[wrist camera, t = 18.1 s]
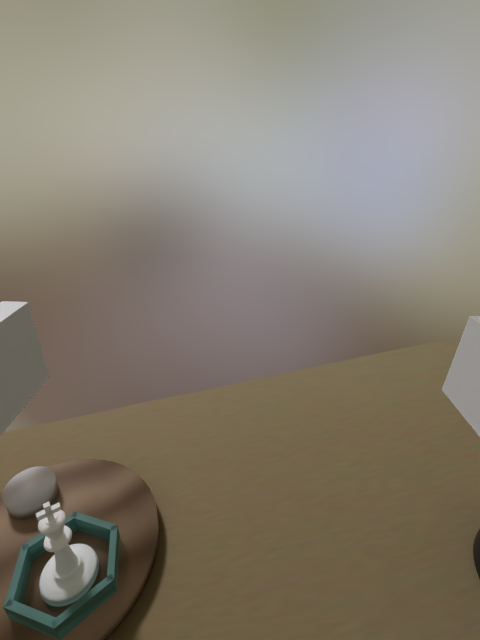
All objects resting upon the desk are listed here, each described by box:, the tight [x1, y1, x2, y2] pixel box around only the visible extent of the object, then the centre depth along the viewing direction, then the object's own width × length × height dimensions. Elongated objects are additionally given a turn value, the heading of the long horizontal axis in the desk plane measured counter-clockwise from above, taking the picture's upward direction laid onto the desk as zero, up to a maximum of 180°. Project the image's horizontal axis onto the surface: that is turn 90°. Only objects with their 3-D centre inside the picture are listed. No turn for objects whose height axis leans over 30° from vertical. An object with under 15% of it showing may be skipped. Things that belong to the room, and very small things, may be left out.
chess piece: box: [36, 501, 99, 607], centre depth 29 cm, size 5×5×10 cm
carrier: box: [0, 459, 159, 640], centre depth 34 cm, size 20×20×4 cm
